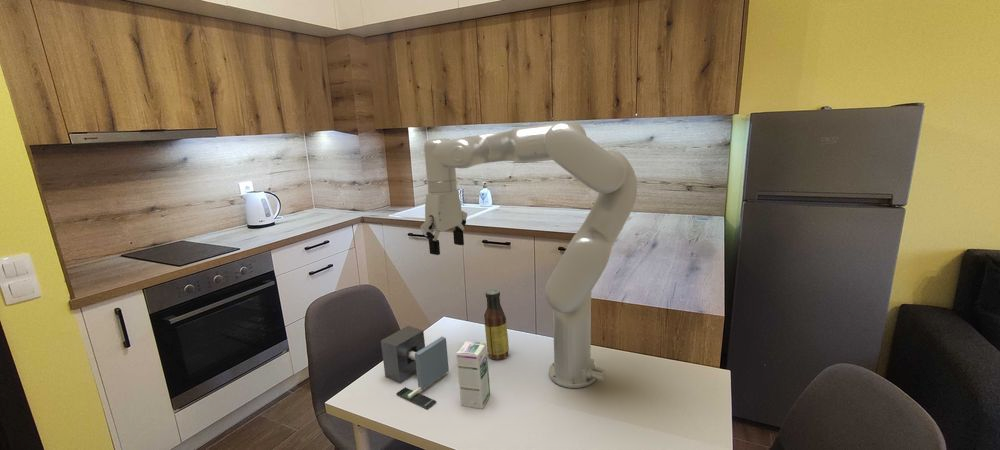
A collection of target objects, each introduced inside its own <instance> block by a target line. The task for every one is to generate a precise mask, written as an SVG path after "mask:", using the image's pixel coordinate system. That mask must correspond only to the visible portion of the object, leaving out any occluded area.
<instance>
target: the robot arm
mask: <svg viewBox="0 0 1000 450" xmlns="http://www.w3.org/2000/svg"><path fill="white" fill-rule="evenodd" d="M423 146H424V149H423V150H424V159H425V170H426V180H427V181H426V182H427V193H426V194H425V202H424V203H425V204H424V213H425V214H424V220H425V221H424V222H423V223H422V224H421V225H420V231H421V232H422V234H423V237H425V239H426V240H427V241H428V249H429V254H430V255H434V256H440V255H441V247H440V246H441V245H440V240H439V239H438V237H439V236H440V234H441V232H445V231H448V230H450V229H451V230H452V229H453V231H452V232H453V233H452V234H453V244H454V245H457V246H464V245H465V237H464V231H465V229H466V228H465V226H466V224H467V221H466V220H467V218H468V212H465V211H463V210H462V205H461V199H460V194H459V191H458V187H457V184H458V180H457V174H456V169H468V168H471V167H474V166H478V165H481V164H488V163H497V162H498V163H499V162H515V163H517V164H530V163H535V162H536V163H537V162H538V163H539V162H545V161H547V162H548V161H554V162H555V163H556V164H557V165H558V166H559V167H561V169H564V170H565V171H566V172H568V173H569V174H570V175H572V177H574V178H576V179H577V180H578V181H579V182H581V183H582V184H583V185H585V186H587V188H589V189H590V190H592V191H594V192H597V193H598V195H597V198H596V200H595V201H594V203H593V204H592V207H591V209H590V211H589V213H588V214H587V216H586V218H585V220H584V222H583V223H582V224H581V226H580V227H579V229H578V230H577V231H576V232H575V234H574V235H573V237H572V239H571V240H570V241H569V243H568V245H567V247H566V248H565V251H564V253H563V254H562V256H561V258H560V260H559V261H558V263H557V265H556V267H555V268H554V269H553V272H552V273H551V275H550V277H549V279H548V280H547V283H546V285H545V290H544V292H545V293H544V295H545V299H546V302H547V303H548V305H549V306H550V308H552V318H553V319H552V327H553V361H554V362H553V363H551V364H550V366H548V367H549V368H548V376H549V379H550V380H551V381H552V382H553V383H555V384H556V385H559V386H560V387H565V388H568V389H569V388H570V389H579V388H585V387H587V386H590V385H591V384H593V383H594V382H595V381H596V380H597V381H601V382H605V379H606V374H605V369H604V368H603V367H599V366H596V365H595V359H594V358H591V357H592V356H591V354H592V353H591V350H592V345H591V344H592V343H591V341H592V340H591V339H592V338H591V337H592V336H591V333H592V332H591V331H592V330H591V328H592V327H591V325H592V324H591V321H592V320H591V319H592V316H591V315H592V311H591V310H592V309H591V308H592V307H591V306H592V291H593V289H594V287H595V286H596V284H597V283H598V281H599V279H600V278H601V276H602V274H603V272H604V270H606V267H607V265H608V263H609V261H610V257H611V253H612V249H613V246H614V244H615V242H616V240H617V238H618V237H619V235H620V233H621V231H622V230H623V228H624V225H625V224H626V222H627V220H628V219H629V217H630V215H631V213H632V211H633V209H634V206H635V203H636V199H637V194H638V182H637V176H636V173H635V170H634V168H633V166H632V164H631V163H630V161H629V159H628V158H627V157H626V156H625V155H624V154H622V153H621V152H619V151H616V150H614V149H612V150H610V149H609V150H606V149H604V148H603V147H602V146H600V145H599V144H598V143H596V142H595V141H594V140H592V139H591V138H590V137H589V136H587V132H586V130H585V129H584V127H583V126H582V125H581V124H580V123H578V122H576V121H570V120H568V121H560V122H554V123H553V122H550V123H547V124H546V123H545V124H538V125H529V126H523V127H518V128H517V127H516V128H513V129H511V130H507V131H501V132H500V131H499V132H495V133H487V134H479V135H470V136H464V137H459V138H452V139H450V138H433V139H428V140H426V141H425V142H424V145H423Z"/></svg>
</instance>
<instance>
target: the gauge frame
mask: <svg viewBox="0 0 1000 450" xmlns="http://www.w3.org/2000/svg"><path fill="white" fill-rule="evenodd" d="M424 332H425V331H424V330H423V329H420V328H418V327H417V328H416V327H413V326H410V325H407V326H405V327H403V328H401V329H399V330H398V331H396V332H393V333H392V334H391V335H388V336H387V337H385V338H383V339H382V340H380V346H381V354H382V360H383V368H384V370H383V371H384V377H385V378H387V379H389V380H391V381H393V382H395V383H398V384H400V385H401V384H402V383H404V382H406V381H407V380H408V379H409V378H411V377H412V376H414V375H417V370H416V361H415V360H413V359H410V358H408V357H407V353H406V351H408V350H411V351H414V352H418V351H419V350H421V349H423V348H424V347H426V344H425V333H424ZM413 391H414V390H413V389H410V388H409V387H405V386H404V387H403V388H402V389H400V390H399V391H397V392H396V396H398V397H400V398H402V399H404V400H406V401H408V402H409V403H410V402H411V403H412V404H415V405H416V406H419V407H421V408H423V409H426V410H429V409H431V408H432V407H434V406H435V405H436V404H437V400H435V399H433V398H430V397H429V396H428V397H427V396H425V395H424V394H421V393H420V392H418V393H417V394H415V395H414V396H412V397H411V398H409V397H408V394H410V393H411V392H413Z"/></svg>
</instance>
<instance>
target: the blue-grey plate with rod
mask: <svg viewBox="0 0 1000 450" xmlns="http://www.w3.org/2000/svg"><path fill="white" fill-rule="evenodd" d="M447 345H448V344H447V337H445V336H441V337H438V338H437V339H435V340H434V341H432V342H430V343H429V344H427V345H425V347H424V348H423V349H421V350H419V351H418V352H414V351H411V350H408V351H406V353H407V357H408V358H410V359H413V360H415V361H416V370H417V373H416V376H417V377H416V378H417V385H418V387H417V388H416V389H414V390H413V392H411V393H410V394H408V397H409V398H411V397H412V396H414V395H415V394H417V393H420V392H421V391H424V390H425V389H426V388H428V387H429V386H431V385H432V384H434V383H435V382H437V381H439V379H441V378H442V377H443V376H445V375H446V374H448V373H449V370H450V368H449V357H448V347H447Z"/></svg>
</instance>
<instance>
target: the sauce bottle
mask: <svg viewBox="0 0 1000 450" xmlns="http://www.w3.org/2000/svg"><path fill="white" fill-rule="evenodd" d="M500 296H501V291H500V290H499V289H488V290H486V291H485V297H486V310H485V312H484V315H483V316H484V317H483V318H484V331H485V338H486V339H485V340H486V341H485V342H486V349H487V356H488V357H489V358H490V359H493V360H495V361H496V360H497V361H498V360H500V361H501V360H503V359H506V358H507V357H508V356H509V348H510V347H509V336H508V328H507V327H508V325H507V317H506V314H505V313H504V309H503V307H502V304H501V299H500V298H501V297H500Z"/></svg>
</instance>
